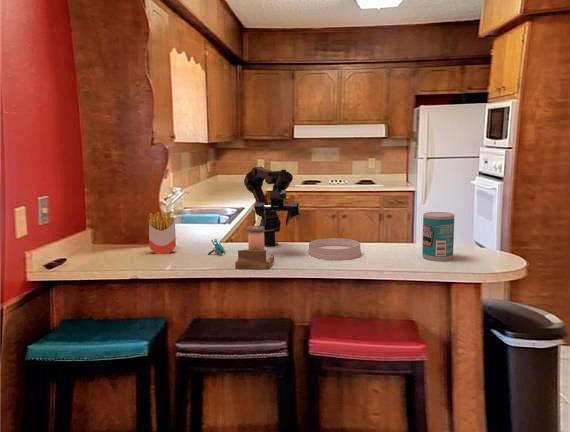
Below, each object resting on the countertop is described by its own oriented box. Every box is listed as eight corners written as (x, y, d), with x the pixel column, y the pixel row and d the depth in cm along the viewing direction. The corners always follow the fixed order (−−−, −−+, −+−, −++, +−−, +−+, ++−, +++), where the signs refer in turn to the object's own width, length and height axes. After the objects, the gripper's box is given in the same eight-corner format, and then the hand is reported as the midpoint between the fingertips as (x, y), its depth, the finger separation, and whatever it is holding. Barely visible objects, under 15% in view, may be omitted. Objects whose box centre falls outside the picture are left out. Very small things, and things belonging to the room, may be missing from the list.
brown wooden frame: (242, 260, 214) (242, 243, 213) (274, 260, 212) (273, 243, 211) (235, 268, 201) (234, 250, 200) (269, 269, 199) (268, 251, 198)
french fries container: (174, 253, 228) (172, 212, 225) (149, 254, 228) (147, 213, 225) (176, 251, 233) (174, 211, 230) (151, 251, 232) (149, 212, 229)
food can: (455, 255, 214) (456, 212, 211) (450, 262, 204) (451, 217, 201) (425, 253, 220) (426, 211, 217) (419, 259, 209) (420, 215, 206)
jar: (256, 259, 214) (255, 225, 212) (268, 262, 210) (267, 226, 208) (244, 262, 209) (243, 227, 207) (257, 265, 205) (256, 229, 203)
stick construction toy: (224, 251, 220) (214, 236, 221) (211, 261, 220) (200, 246, 221) (229, 253, 232) (220, 239, 233) (217, 262, 232) (207, 248, 233)
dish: (334, 264, 206) (334, 251, 205) (297, 254, 223) (297, 243, 222) (371, 255, 220) (371, 243, 219) (334, 246, 237) (334, 236, 236)
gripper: (254, 183, 220) (250, 213, 211) (298, 183, 218) (296, 213, 209) (258, 199, 229) (254, 229, 220) (300, 199, 227) (298, 229, 218)
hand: (275, 225), depth 216 cm, fingers open, 9 cm apart
